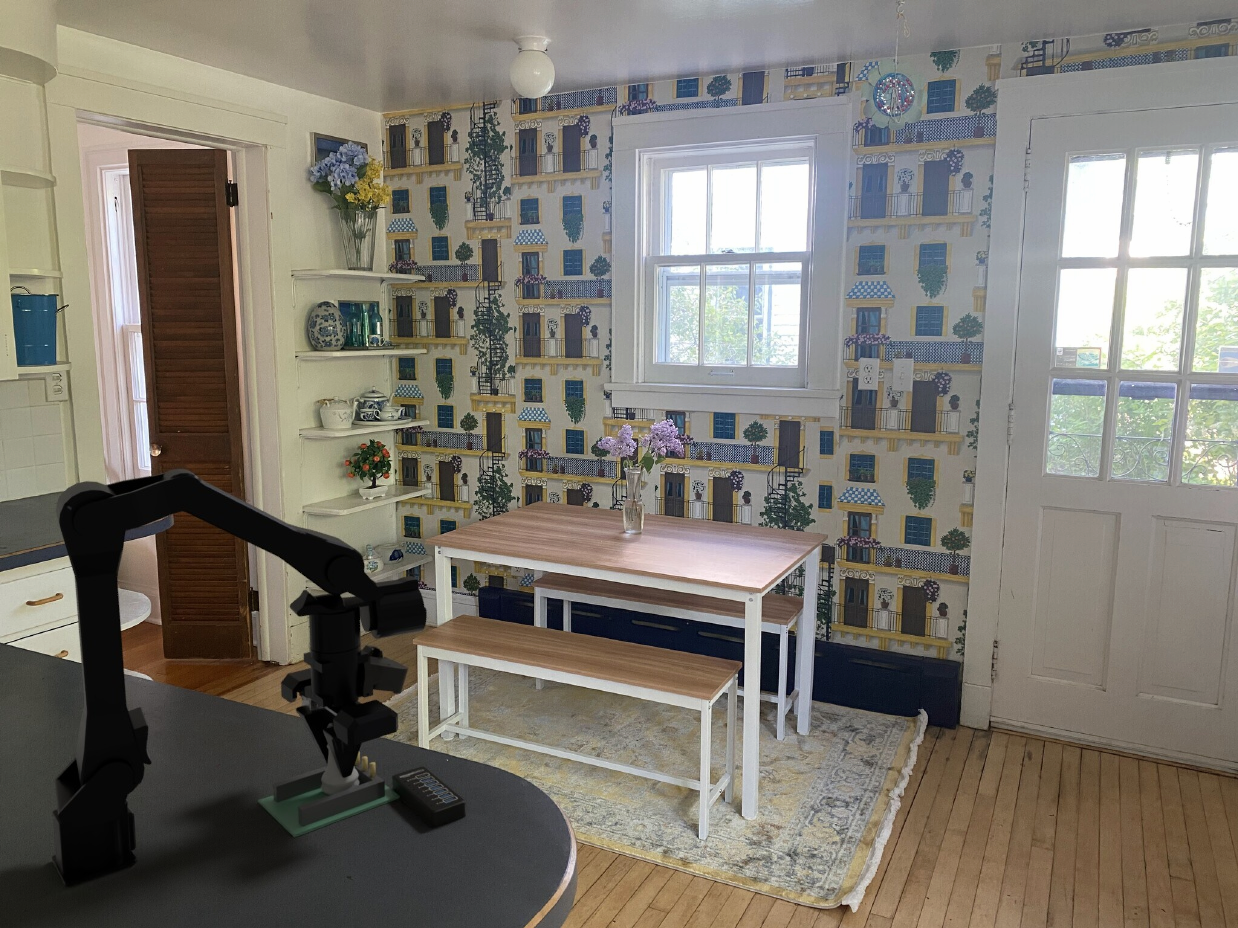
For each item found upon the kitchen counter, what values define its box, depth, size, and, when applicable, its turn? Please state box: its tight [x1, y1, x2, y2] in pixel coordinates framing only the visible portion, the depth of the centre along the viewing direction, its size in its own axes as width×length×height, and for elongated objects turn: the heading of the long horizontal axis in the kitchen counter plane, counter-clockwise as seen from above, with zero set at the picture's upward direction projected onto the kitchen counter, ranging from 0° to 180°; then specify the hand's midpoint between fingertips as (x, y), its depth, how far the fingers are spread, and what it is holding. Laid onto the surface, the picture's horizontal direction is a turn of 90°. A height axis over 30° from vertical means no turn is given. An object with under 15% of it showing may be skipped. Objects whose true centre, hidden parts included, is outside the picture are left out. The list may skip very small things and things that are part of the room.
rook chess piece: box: [321, 723, 359, 796], centre depth 108 cm, size 4×4×8 cm
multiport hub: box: [391, 765, 467, 829], centre depth 107 cm, size 4×11×2 cm, turn 38°
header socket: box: [257, 750, 400, 838], centre depth 107 cm, size 13×10×4 cm
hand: (339, 770), depth 108 cm, fingers closed on rook chess piece, 3 cm apart
